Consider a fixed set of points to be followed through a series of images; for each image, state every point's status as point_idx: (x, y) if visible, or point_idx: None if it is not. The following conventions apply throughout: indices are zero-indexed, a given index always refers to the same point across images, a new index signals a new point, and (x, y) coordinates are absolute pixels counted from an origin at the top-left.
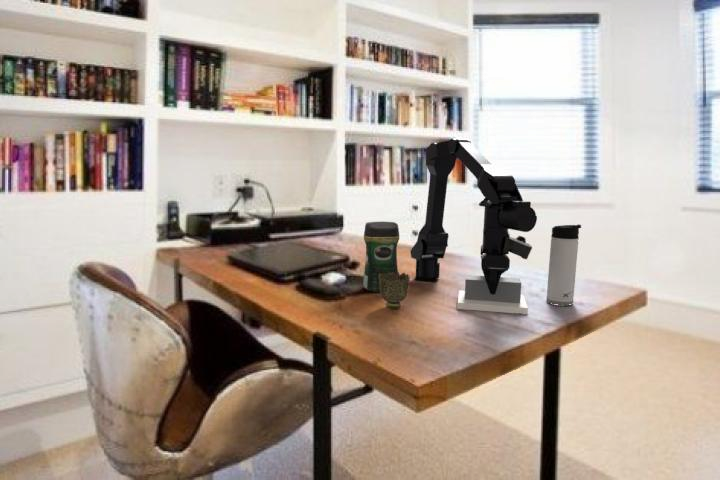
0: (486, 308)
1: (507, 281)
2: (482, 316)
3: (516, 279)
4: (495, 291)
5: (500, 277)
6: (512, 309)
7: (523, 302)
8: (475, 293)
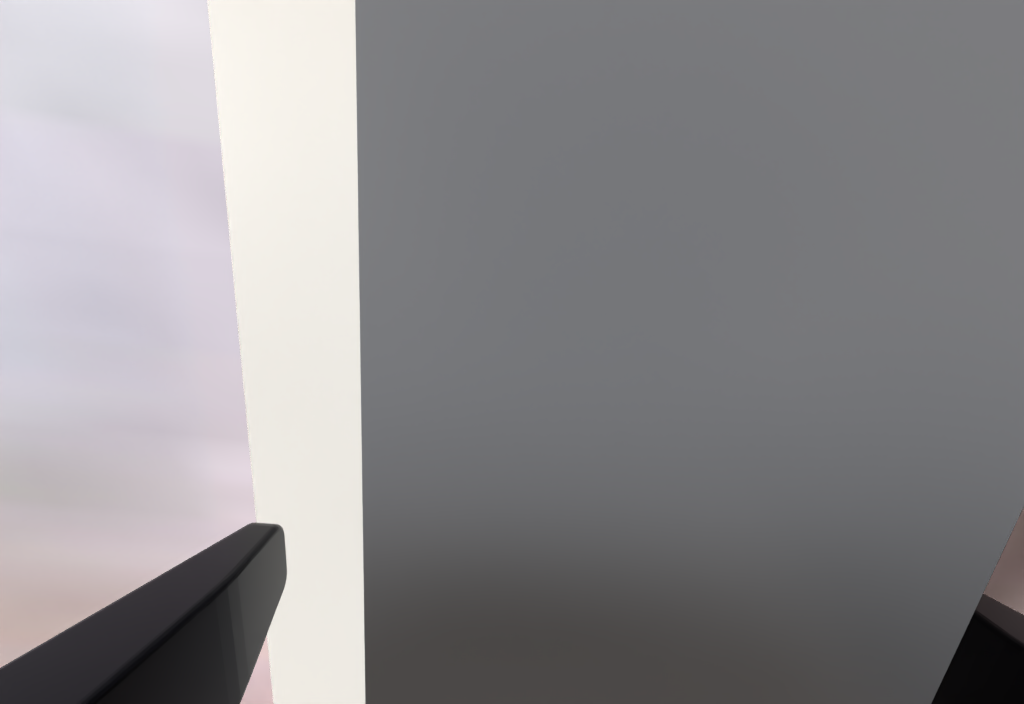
0: None
1: (967, 492)
2: (1009, 563)
3: (646, 131)
4: (1009, 614)
5: (435, 604)
6: None
7: None
8: None
